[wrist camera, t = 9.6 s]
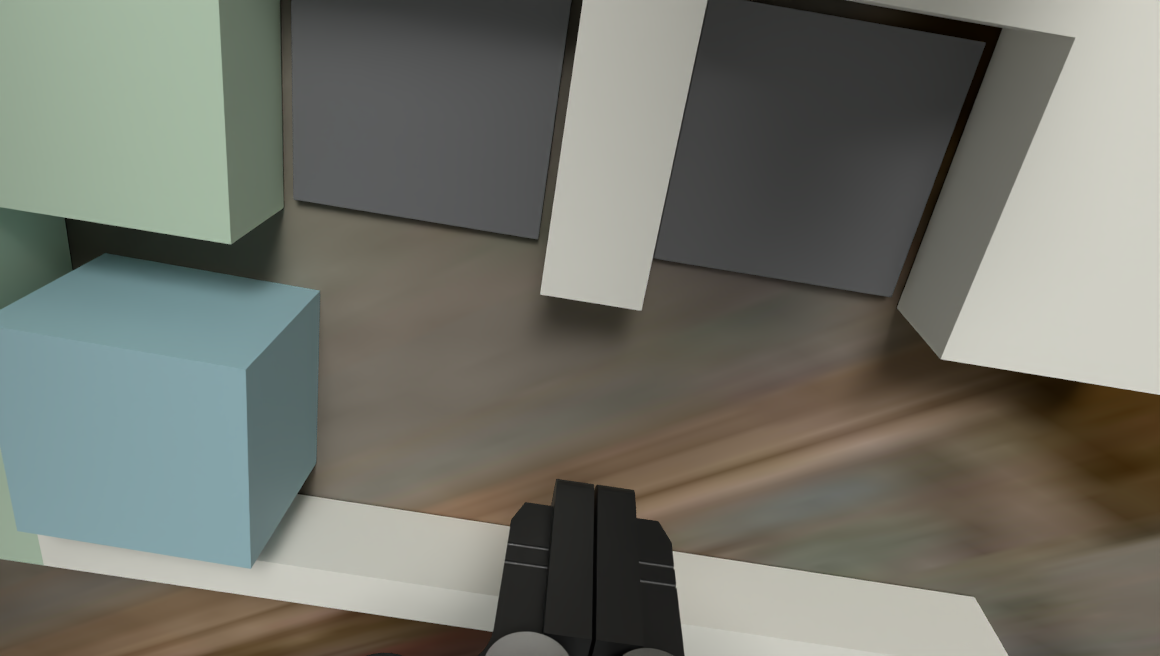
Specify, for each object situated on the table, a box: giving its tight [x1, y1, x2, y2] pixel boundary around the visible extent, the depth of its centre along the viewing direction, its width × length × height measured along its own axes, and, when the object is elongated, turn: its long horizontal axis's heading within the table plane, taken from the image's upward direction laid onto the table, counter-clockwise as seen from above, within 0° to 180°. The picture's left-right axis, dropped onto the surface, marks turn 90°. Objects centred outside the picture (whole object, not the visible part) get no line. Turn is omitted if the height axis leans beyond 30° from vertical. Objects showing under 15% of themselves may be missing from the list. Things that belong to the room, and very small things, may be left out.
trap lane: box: [0, 0, 1160, 656], centre depth 16 cm, size 25×16×2 cm, turn 81°
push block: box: [0, 253, 320, 569], centre depth 17 cm, size 5×5×4 cm
